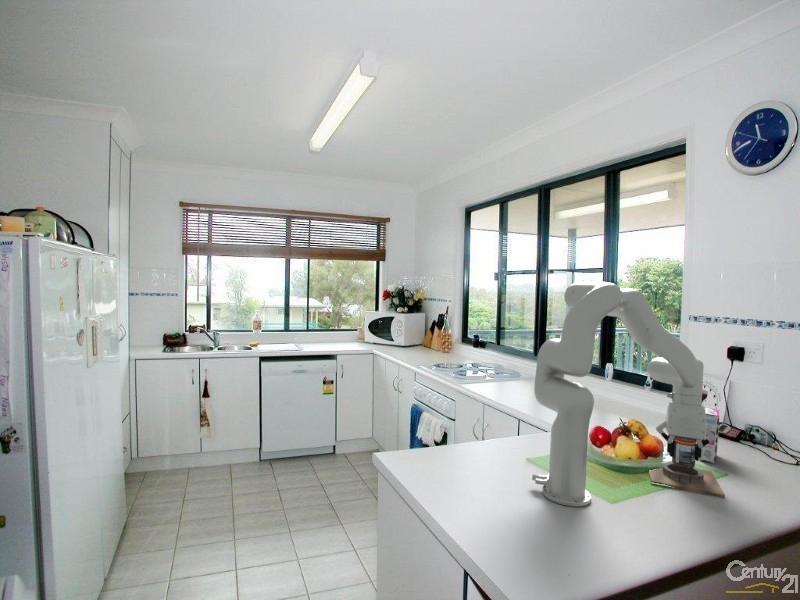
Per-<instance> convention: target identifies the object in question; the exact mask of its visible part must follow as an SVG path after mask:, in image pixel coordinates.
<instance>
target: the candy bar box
mask: <svg viewBox="0 0 800 600" xmlns="http://www.w3.org/2000/svg"><path fill="white" fill-rule="evenodd" d="M705 412H706V427H707V429H708V430H709V431H710V432H711V433H712V434H713V435H714V436H715V437H716V439H714V440H713V441H711V442H709V443H708V444H707V445H705V446H704V447H703V448H702V451H701V458H699V461H702V462H705V463H710V464H717V463H716V462H717V457H718V454H717V453H718V444H719V443H718V442H719V431H720V430H719V429H720V410H719V409H715V408H708V407H705ZM707 437H708V435H707V434H706V438H707Z"/></svg>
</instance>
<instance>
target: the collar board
mask: <svg viewBox="0 0 800 600" xmlns="http://www.w3.org/2000/svg"><path fill="white" fill-rule="evenodd" d="M671 463H672V464H669V465H665V466H663V468H659V469H653V470H649V472H648V476H649V475H650V477H649V480H650V479H651V481H650V483H651V482H654V483H659V484H665V485H668V486H671V487H674V488H675V490H679V491H683V492H684V491H685V492H690V493H693V494H694V493H695V494H701V495H704V496H711V497H715V498H721V499H726V494H725V492H724V490H723V489H722V487H721V485H720V484H719V482H718V480H717V478H716V477H715V474H713V472H712V470H711V471H710V470H705V469H699V468H696V467H693V468H682V467H679V466H676V465H675V464H673V462H671ZM674 488H673V489H674Z"/></svg>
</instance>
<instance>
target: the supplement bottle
mask: <svg viewBox="0 0 800 600" xmlns="http://www.w3.org/2000/svg"><path fill="white" fill-rule="evenodd" d="M673 444H674V448H673V456H672V457H671V463H673V464H675V465H676V466H679V467H682V468H693V467H695V466H696V460H695V454H696V444H697V443H696V439H691V438H684V437H677V436H675V438H674V439H673ZM695 468H696V467H695Z"/></svg>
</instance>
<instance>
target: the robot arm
mask: <svg viewBox="0 0 800 600" xmlns="http://www.w3.org/2000/svg"><path fill="white" fill-rule="evenodd" d="M563 297H564V301H565V304H566V305H567V307H569V308H570V309H569V311H568V312H567V314H566V315H565V318H564V320H563V326H562V329H561V330H562V331H561V336H560V338H557V337H556V338H550V339H548V340H546V341H544V343H543V344H542V345H541V346H540V348H539V351H538V354H537V360H536V368H535V369H536V370H535V378H534V396H535V399H536V400H537V402H538V404H540V405H541V406H542V407H545V408H547V409H548V410H551V411H554V412H555V413H557V415H556V417H555V419H554V421H553V422H552V424H551V428H550V444H549V445H550V447H549V462H548V463H549V467H548V474H544V475H542V474H539V473H535V472H533V473H532V478H531V479H532V481H535V484H537V485H542V488H541V489H542V491H541V492H542V494H543V496H544V497H546V498H547V499H548V500H549V501H552V502H554V503H556V504H559V505H563V506H565V507H566V506H567V507H576V508H577V507H584V506H588V505H590V503H592V495H591V493H590V492H589V491H588V490H586V485H587V466H588V465H587V464H588V449H589V448H588V445H589V443H588V442H589V441H588V440H589V428H590V422H591V417H592V415H593V412H594V411H593V410H594V405H595V399H594V396H593V394H592V391H591V390H590V389H589V388H588V387H587V386H585V385H584V384H581V383H579V382H576V381H574V380H570V379H568V378H567V379H566V378H565V376H569V377H574V378H584V377H586V376H588V375H589V374H590V372H591V370H592V366H593V361H594V360H593V359H594V350H595V344H596V343H595V342H596V335H597V329H598V327H599V325H600V323H601V322H602V320H603V319H604V318H605V317H607V316H608V317H617V318H619V319H620V320H621V323H622V324H623V326H624V327H625V329H626V330H627V332H628V334H629V335H630V337H631V339H632V341H633V342H634V343H635V344H637V345H638V346H640V347H641V348H643V349H645V350H647V351H649V352H650V353H653V354H655V355H657V356H659V357H655V358H653V359H651V360H650V361H649V362H648V364H647V367H646V371H647V373H648V375H649V377H650V378H651V379H653V380H655V381H657V382H660V383H664V384H668V385H672V391H671V392H667V393H666V398H669V399H671V400H670V401H669V402H668V405H667V410H666V417H665V420H664V421H663V422H662V423H660V424H659V425H658V426H656V427H655V430H656V432H657V433H659V435H660V436H661V437H662V438H663V439H664V440H665V441H666V443H667V444H666V452H667V453H668V454H669V456H670V457H671V458H672V456H673V448H674V444H673V439H674V438H675V436H677V437H684V438H691V439H696V454H695V462H699V461H700V460H699V458H701V451H702V448H703V447H704V446H705V445H707V444H708V443H709V442H711V441H713V440H714V439H716V437H715V436H714V435H713V434H712V433H711V432H710V431H709V430H708V429H707V427H706V412H705V408H706V406H705V405H704V404H702V400H703V387H704V386H703V385H704V384H703V383H704V368H705V367H704V363H703V362H702V360H699V359H696V356H695V355H694V353H693V351H692V350H691V349H690V348H689V347H688V346H687V345H686V344H685V343H684V342H682V341H681V340H679V338H677V337H676V336H674V335H673V334H672V333H670V332H669V331H668V330H666V329H665V328H664V327H663V325H662V324H661V321H659V319H658V317H657V315H656V313H655V311H653V308H652V306H651V305H650V303H649V301H648V299H647V298H646V296H645V294H643V292H641V291H640V290H638V289H634V288H622V287H621V288H620V286H618V285H617V284H615V283H613V282H607V281H579V282H574V283H572V284H570V285H568V287H567V288H566V289H565V291H564V296H563ZM664 429H665V431H666V432H665V431H664ZM706 434H707V435H708V437H707V438H706Z"/></svg>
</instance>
